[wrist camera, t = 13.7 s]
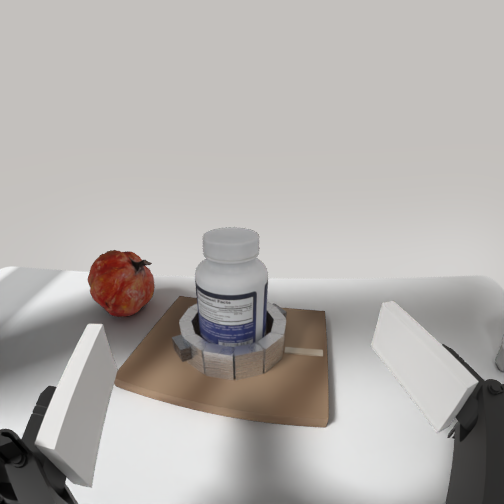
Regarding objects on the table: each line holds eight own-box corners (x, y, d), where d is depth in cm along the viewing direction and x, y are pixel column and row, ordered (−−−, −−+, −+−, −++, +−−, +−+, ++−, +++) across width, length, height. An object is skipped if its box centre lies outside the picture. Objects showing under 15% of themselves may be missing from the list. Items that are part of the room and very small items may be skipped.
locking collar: (167, 367, 20) (162, 343, 19) (202, 313, 28) (200, 291, 27) (276, 386, 19) (279, 362, 18) (287, 322, 27) (289, 300, 26)
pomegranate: (93, 338, 27) (133, 310, 23) (66, 281, 28) (97, 238, 23) (136, 315, 34) (182, 285, 29) (111, 266, 34) (150, 226, 30)
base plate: (115, 386, 19) (111, 376, 18) (180, 303, 32) (179, 294, 31) (325, 427, 16) (328, 417, 15) (323, 319, 29) (325, 309, 28)
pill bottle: (227, 320, 27) (226, 221, 23) (276, 340, 24) (283, 232, 21) (188, 348, 23) (176, 236, 19) (239, 375, 20) (238, 253, 16)
